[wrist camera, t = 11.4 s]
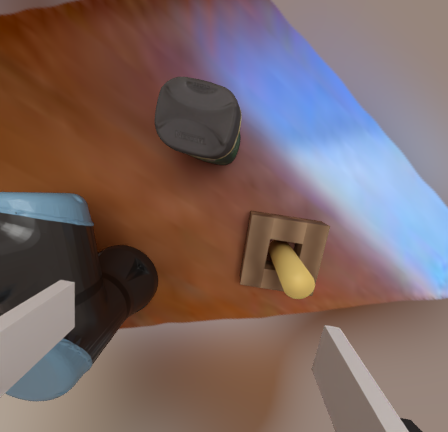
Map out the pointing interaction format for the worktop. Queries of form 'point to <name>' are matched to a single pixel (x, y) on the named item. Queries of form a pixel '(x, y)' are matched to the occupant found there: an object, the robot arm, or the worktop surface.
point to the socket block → (284, 231)
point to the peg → (291, 270)
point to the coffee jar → (199, 119)
